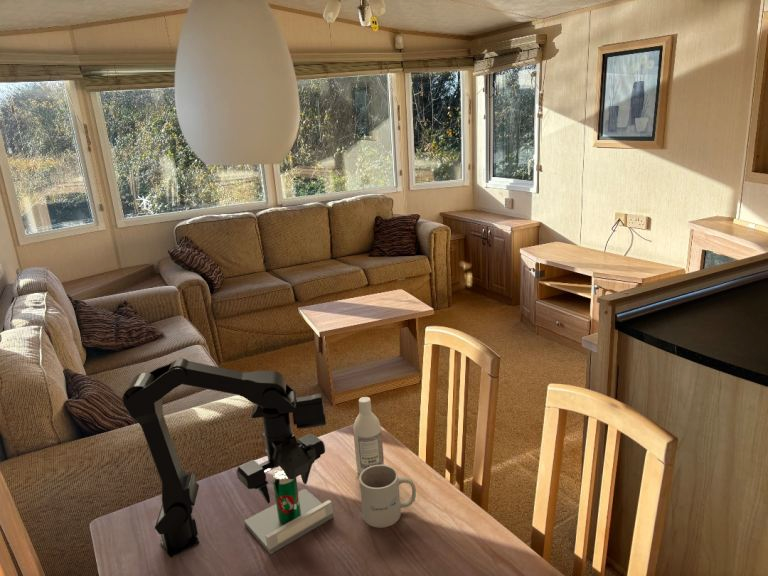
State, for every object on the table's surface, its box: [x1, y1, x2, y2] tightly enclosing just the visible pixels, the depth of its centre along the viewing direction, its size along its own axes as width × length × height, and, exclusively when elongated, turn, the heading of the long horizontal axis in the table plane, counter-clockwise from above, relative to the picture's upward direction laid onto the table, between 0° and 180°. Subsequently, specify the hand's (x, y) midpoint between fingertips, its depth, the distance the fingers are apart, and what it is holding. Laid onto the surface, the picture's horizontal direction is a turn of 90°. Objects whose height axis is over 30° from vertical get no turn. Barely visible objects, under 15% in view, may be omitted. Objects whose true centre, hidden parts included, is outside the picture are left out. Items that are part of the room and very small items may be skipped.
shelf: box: [243, 488, 334, 555], centre depth 124 cm, size 16×12×4 cm
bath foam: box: [352, 396, 385, 475], centre depth 138 cm, size 7×7×20 cm
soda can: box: [271, 467, 301, 525], centre depth 122 cm, size 5×5×12 cm
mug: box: [358, 464, 417, 528], centre depth 124 cm, size 12×9×10 cm
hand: (286, 492), depth 122 cm, fingers open, 9 cm apart
